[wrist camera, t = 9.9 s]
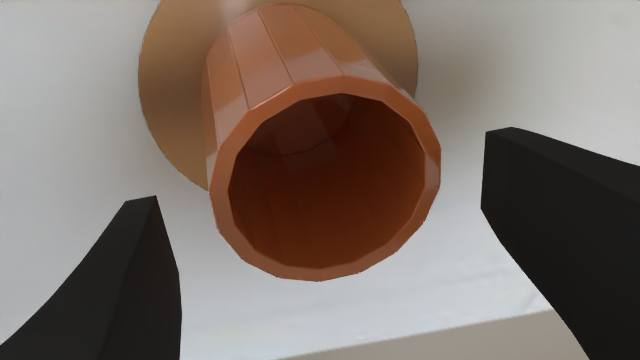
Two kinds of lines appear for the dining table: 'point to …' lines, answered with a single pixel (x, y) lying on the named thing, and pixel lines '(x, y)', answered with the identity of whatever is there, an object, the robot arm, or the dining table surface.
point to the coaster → (199, 34)
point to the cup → (311, 146)
